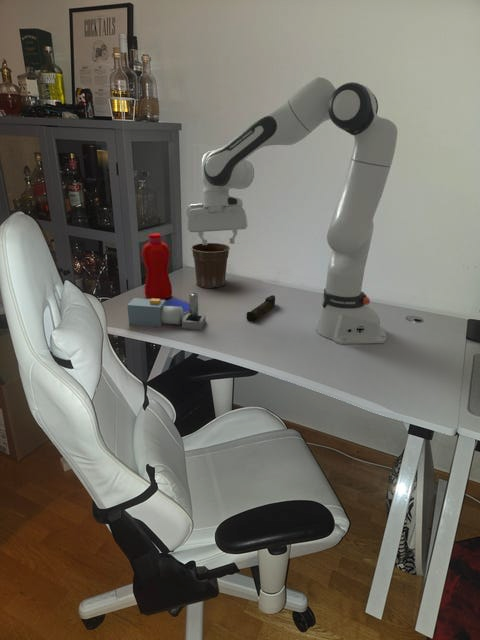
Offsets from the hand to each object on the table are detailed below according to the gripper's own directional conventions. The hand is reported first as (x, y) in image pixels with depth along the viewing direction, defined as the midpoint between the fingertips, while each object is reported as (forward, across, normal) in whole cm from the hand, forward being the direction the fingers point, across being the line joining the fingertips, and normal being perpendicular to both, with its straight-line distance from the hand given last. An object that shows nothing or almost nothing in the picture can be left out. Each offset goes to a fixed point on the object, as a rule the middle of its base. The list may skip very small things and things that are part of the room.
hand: (218, 244), depth 139 cm
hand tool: (+25, +13, +9) cm, 30 cm away
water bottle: (+18, -28, +17) cm, 38 cm away
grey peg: (+27, -9, -5) cm, 29 cm away
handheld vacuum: (+26, -18, -5) cm, 32 cm away
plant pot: (+15, -10, +35) cm, 39 cm away
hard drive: (+22, -18, +8) cm, 30 cm away
